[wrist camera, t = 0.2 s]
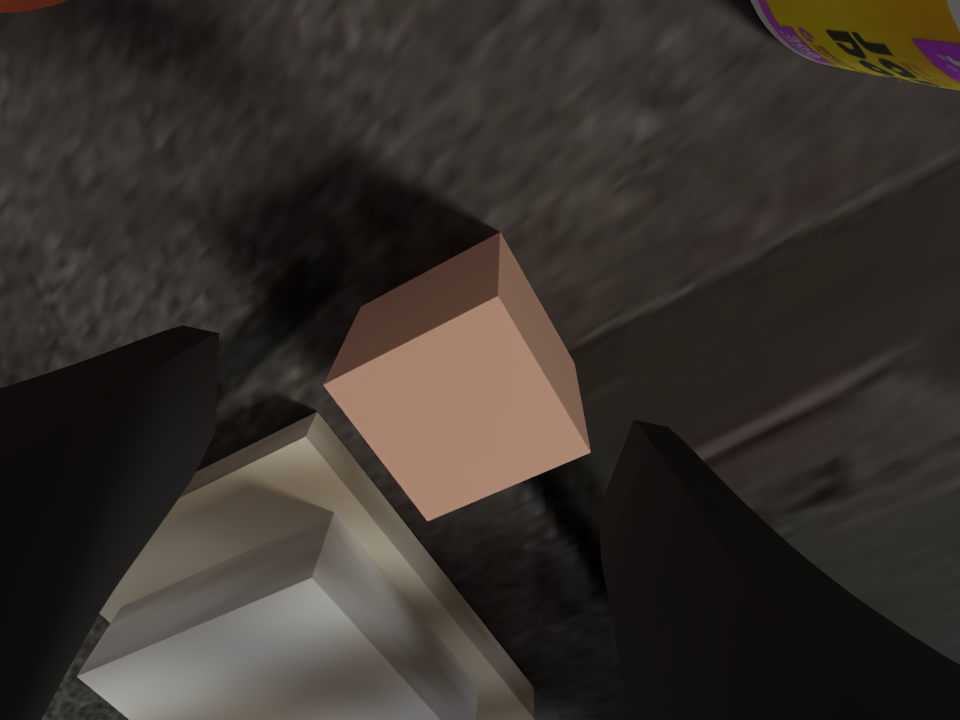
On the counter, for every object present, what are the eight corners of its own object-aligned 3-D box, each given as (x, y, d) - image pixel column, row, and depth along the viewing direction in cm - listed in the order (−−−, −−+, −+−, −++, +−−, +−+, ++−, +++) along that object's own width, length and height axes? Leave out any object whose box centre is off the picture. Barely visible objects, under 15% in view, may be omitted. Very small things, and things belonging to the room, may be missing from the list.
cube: (573, 361, 22) (590, 452, 18) (442, 423, 23) (427, 521, 19) (500, 231, 20) (497, 296, 16) (361, 305, 21) (323, 384, 17)
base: (533, 686, 29) (537, 794, 25) (311, 761, 32) (283, 867, 28) (317, 411, 23) (277, 496, 19) (67, 536, 26) (-12, 631, 22)
